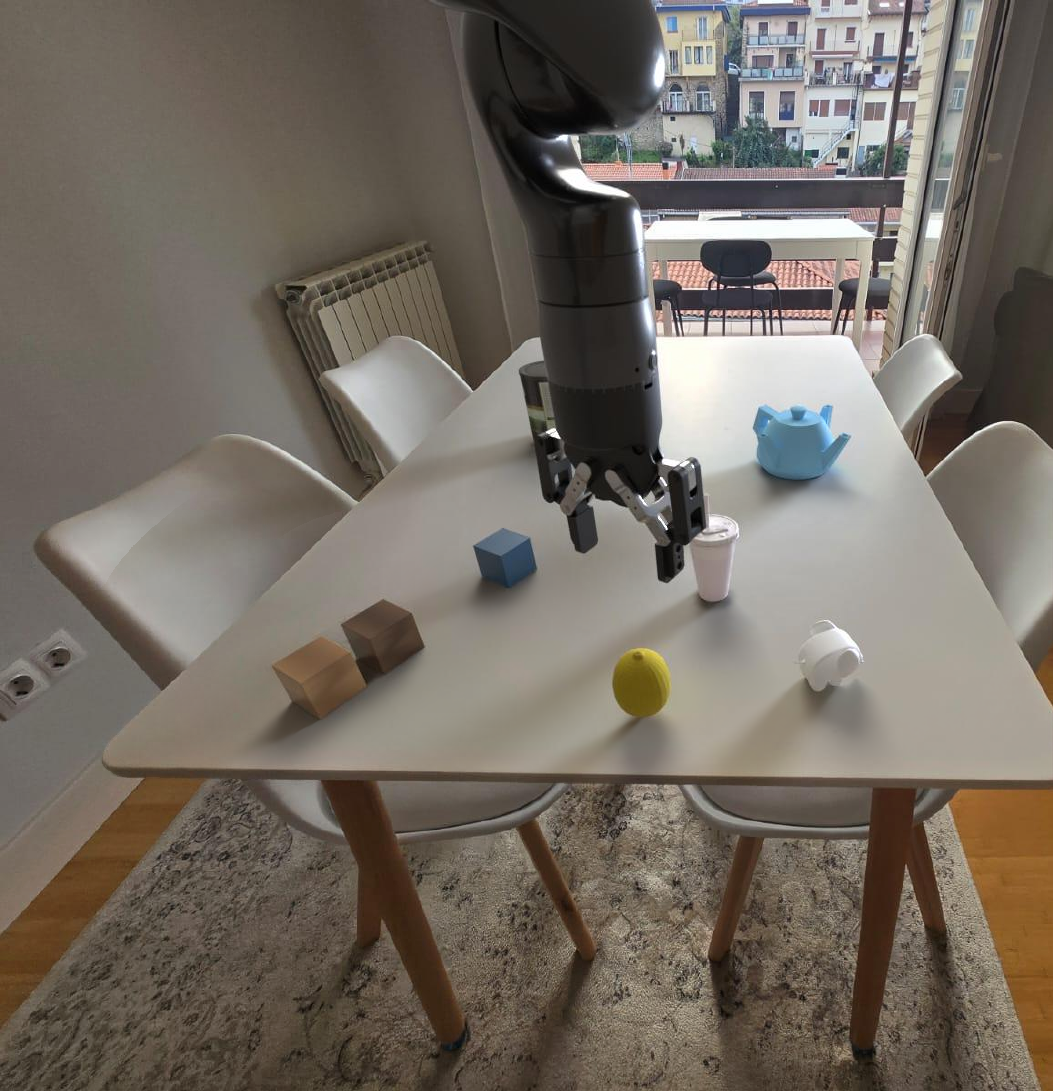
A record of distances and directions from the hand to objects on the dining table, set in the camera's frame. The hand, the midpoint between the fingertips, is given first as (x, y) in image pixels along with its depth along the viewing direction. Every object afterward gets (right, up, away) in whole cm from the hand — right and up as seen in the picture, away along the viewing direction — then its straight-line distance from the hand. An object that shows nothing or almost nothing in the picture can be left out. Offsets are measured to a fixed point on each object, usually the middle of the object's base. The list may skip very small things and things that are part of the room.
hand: (627, 562), depth 49 cm
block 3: (-21, -2, +30) cm, 37 cm away
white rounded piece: (+19, -13, +14) cm, 26 cm away
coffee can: (-25, +22, +68) cm, 76 cm away
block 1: (-33, -14, +12) cm, 38 cm away
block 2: (-29, -11, +17) cm, 36 cm away
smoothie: (+7, -5, +26) cm, 27 cm away
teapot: (+21, +15, +57) cm, 63 cm away
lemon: (0, -15, +10) cm, 18 cm away
